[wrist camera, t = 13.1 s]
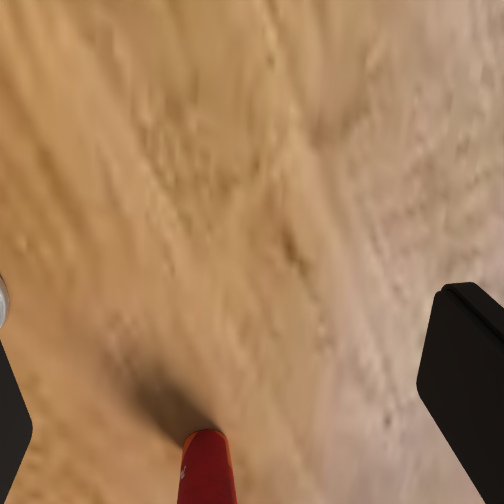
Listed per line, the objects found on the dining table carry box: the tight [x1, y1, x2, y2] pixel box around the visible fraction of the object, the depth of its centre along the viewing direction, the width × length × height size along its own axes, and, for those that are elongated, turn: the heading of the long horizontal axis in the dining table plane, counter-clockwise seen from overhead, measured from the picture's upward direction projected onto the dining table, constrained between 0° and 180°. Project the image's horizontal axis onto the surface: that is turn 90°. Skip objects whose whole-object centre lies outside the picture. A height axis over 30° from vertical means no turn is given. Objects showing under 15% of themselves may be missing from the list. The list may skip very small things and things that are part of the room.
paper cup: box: [177, 430, 237, 504], centre depth 46 cm, size 8×8×14 cm
